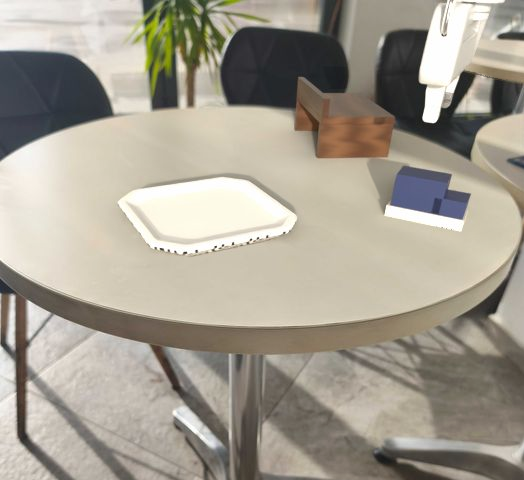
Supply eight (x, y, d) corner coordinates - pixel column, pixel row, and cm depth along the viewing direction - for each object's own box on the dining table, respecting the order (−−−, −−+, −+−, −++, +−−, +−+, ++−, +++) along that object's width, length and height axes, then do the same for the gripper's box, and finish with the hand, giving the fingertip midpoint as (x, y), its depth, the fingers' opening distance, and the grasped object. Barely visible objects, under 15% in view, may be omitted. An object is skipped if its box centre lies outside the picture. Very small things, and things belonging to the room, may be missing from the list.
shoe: (465, 220, 73) (478, 178, 69) (460, 231, 69) (474, 188, 66) (391, 205, 76) (400, 164, 72) (384, 215, 73) (392, 173, 69)
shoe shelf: (355, 128, 110) (362, 77, 104) (387, 157, 95) (398, 98, 89) (294, 129, 108) (298, 76, 102) (317, 158, 93) (323, 98, 87)
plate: (309, 239, 66) (310, 224, 64) (160, 272, 58) (158, 255, 56) (240, 187, 80) (240, 173, 78) (112, 207, 72) (110, 192, 70)
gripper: (488, -15, 48) (448, 136, 56) (504, -17, 62) (470, 102, 71) (422, -19, 50) (394, 127, 58) (453, -20, 64) (426, 97, 73)
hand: (436, 113), depth 65 cm, fingers open, 8 cm apart
